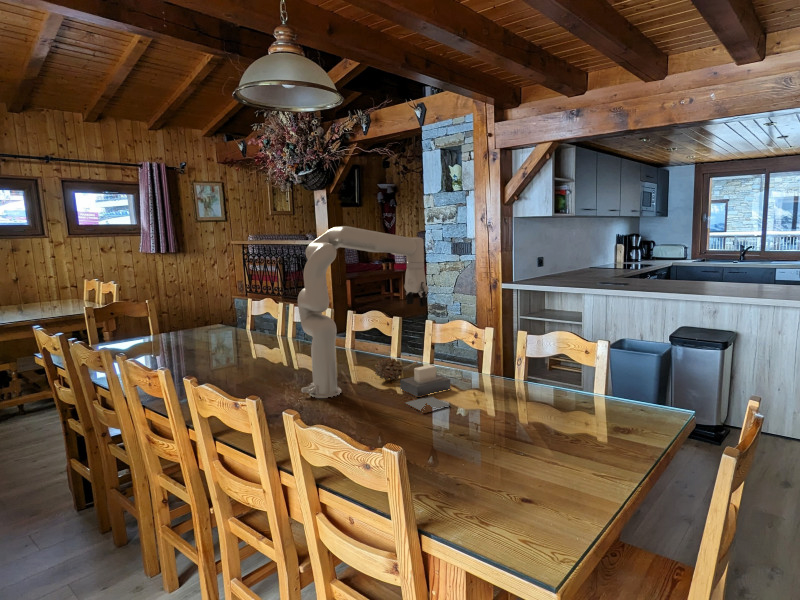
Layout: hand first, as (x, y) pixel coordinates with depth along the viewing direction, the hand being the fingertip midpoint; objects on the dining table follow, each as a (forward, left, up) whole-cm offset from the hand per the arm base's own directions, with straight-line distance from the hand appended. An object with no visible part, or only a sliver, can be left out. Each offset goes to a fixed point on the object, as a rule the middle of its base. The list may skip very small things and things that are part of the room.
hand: (416, 305), depth 220 cm
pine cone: (-11, 0, -31) cm, 33 cm away
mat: (-21, -36, -31) cm, 52 cm away
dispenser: (-11, -21, -31) cm, 39 cm away
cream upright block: (-11, -21, -31) cm, 39 cm away
